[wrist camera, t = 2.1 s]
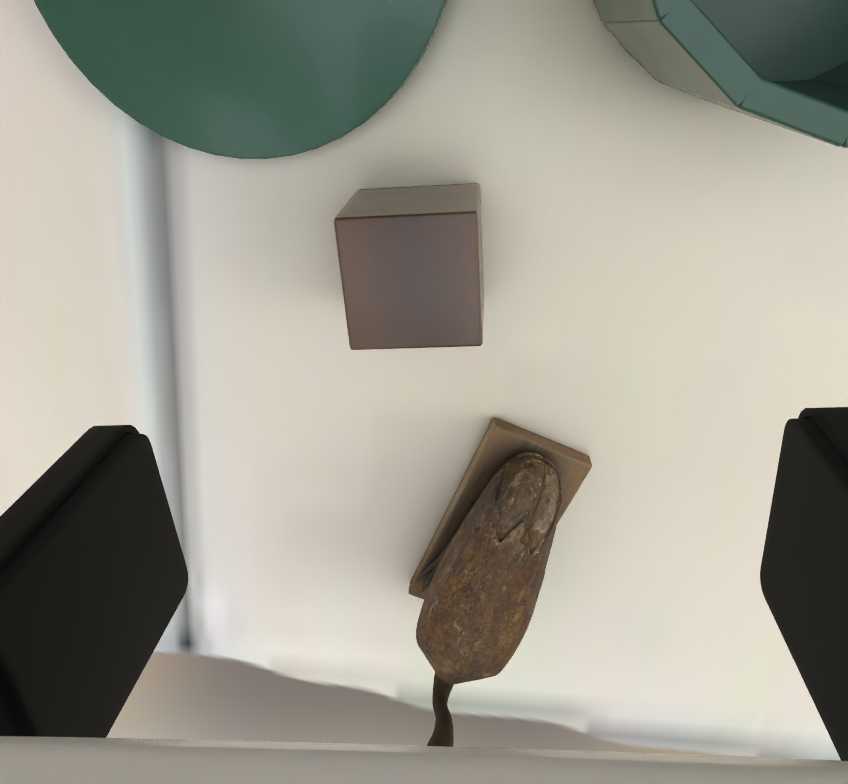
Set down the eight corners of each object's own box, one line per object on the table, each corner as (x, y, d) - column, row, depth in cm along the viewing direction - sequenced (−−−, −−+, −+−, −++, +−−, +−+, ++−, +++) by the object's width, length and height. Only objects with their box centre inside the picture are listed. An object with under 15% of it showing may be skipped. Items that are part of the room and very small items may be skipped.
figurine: (462, 668, 36) (454, 842, 28) (379, 639, 36) (348, 808, 28) (591, 453, 30) (626, 602, 22) (492, 415, 29) (492, 553, 22)
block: (369, 305, 28) (349, 351, 24) (357, 189, 26) (332, 218, 22) (483, 300, 27) (482, 346, 23) (479, 182, 25) (477, 211, 21)
